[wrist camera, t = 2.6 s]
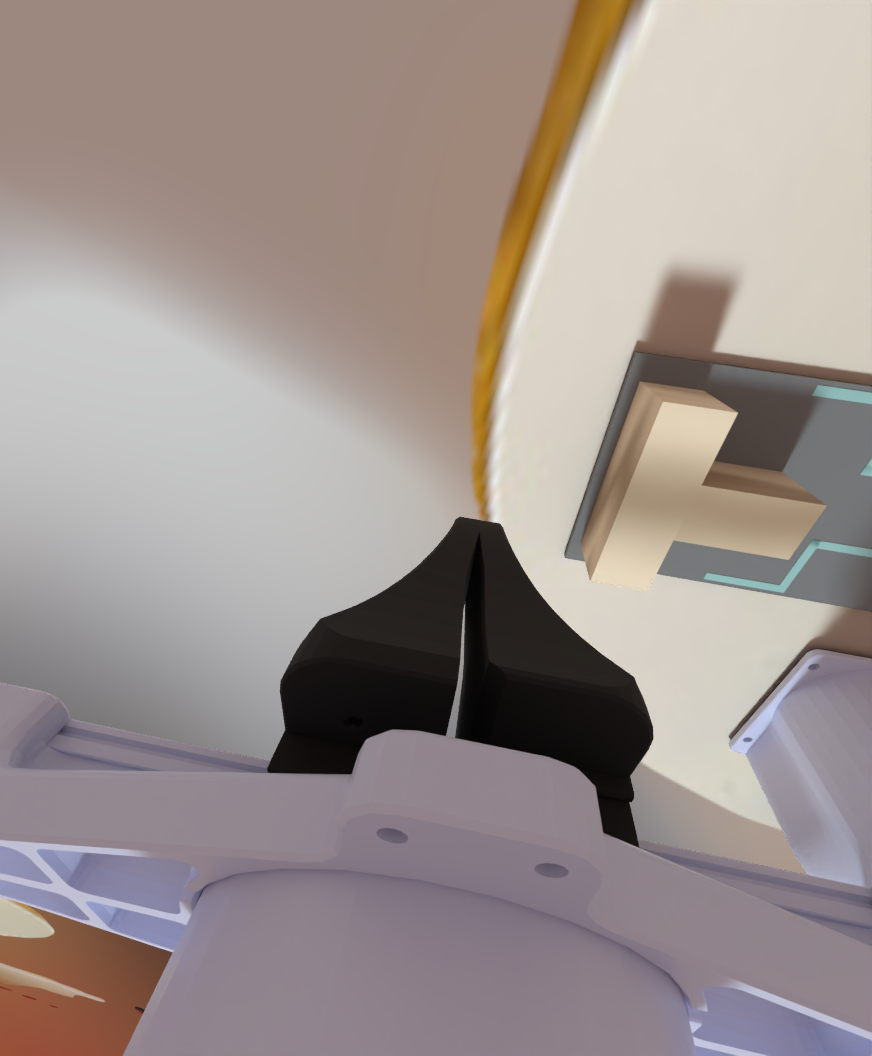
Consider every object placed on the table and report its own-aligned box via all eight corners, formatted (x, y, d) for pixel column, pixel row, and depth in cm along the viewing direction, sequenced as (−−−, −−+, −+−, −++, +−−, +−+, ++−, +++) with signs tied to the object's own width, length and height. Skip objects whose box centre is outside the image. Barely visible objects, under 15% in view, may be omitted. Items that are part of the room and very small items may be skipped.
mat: (874, 608, 21) (879, 613, 21) (564, 554, 22) (565, 558, 22) (1056, 412, 16) (1065, 414, 15) (634, 351, 17) (636, 352, 16)
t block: (723, 568, 21) (752, 610, 18) (580, 543, 21) (590, 581, 19) (821, 407, 16) (878, 433, 14) (639, 381, 17) (662, 401, 14)
